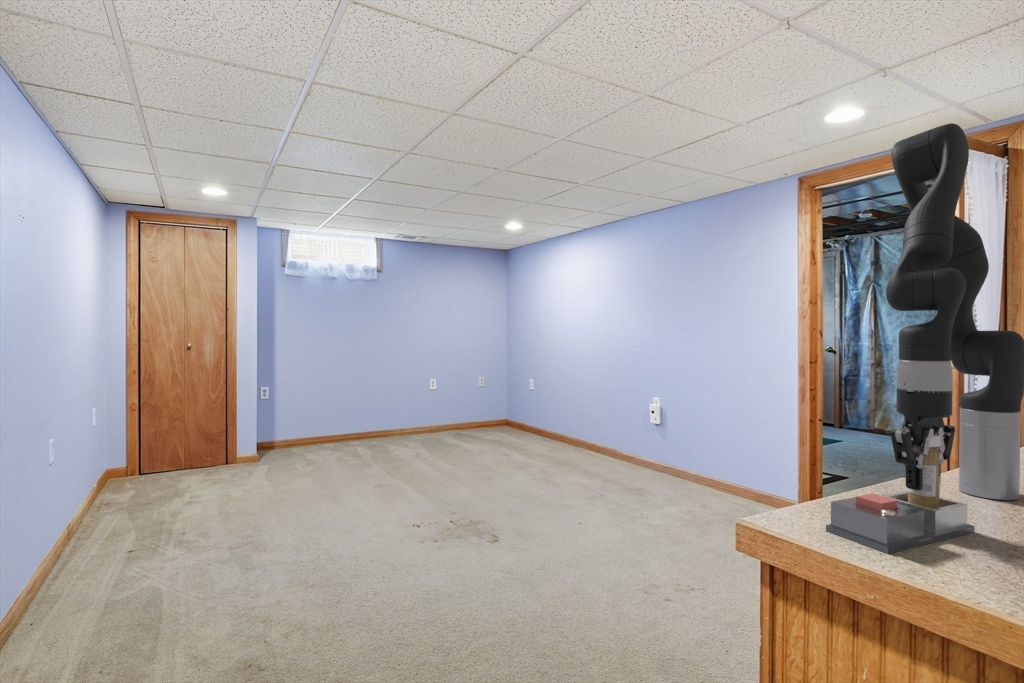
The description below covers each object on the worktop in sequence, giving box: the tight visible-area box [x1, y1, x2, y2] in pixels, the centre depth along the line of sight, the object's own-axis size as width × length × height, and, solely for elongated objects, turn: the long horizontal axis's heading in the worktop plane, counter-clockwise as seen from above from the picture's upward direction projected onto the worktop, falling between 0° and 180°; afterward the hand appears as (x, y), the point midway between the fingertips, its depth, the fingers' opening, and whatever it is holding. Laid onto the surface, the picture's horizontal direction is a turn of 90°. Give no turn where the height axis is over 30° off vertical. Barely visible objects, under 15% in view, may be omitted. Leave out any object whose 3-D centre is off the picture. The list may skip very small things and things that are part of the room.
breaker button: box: [855, 493, 897, 512], centre depth 86 cm, size 4×4×5 cm
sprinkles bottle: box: [907, 434, 941, 509], centre depth 91 cm, size 5×5×14 cm
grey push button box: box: [825, 490, 976, 554], centre depth 89 cm, size 22×10×6 cm, turn 113°
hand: (922, 486), depth 91 cm, fingers closed on sprinkles bottle, 4 cm apart
